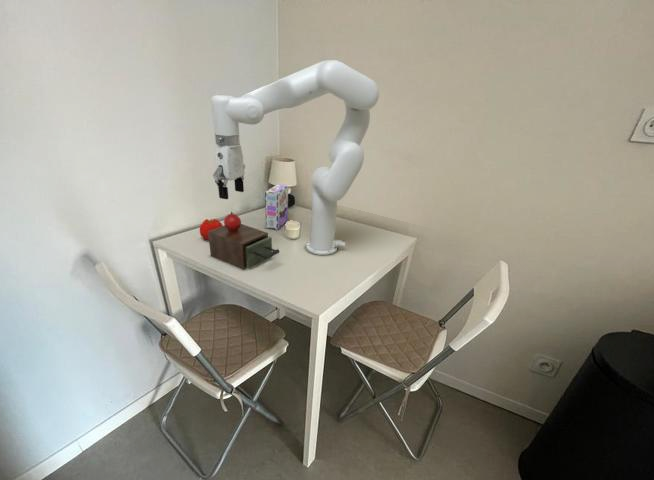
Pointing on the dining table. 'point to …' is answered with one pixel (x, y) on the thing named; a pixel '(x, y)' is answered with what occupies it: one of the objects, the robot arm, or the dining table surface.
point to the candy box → (276, 206)
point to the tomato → (209, 227)
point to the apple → (232, 222)
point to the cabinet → (233, 243)
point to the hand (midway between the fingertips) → (232, 194)
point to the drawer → (258, 251)
